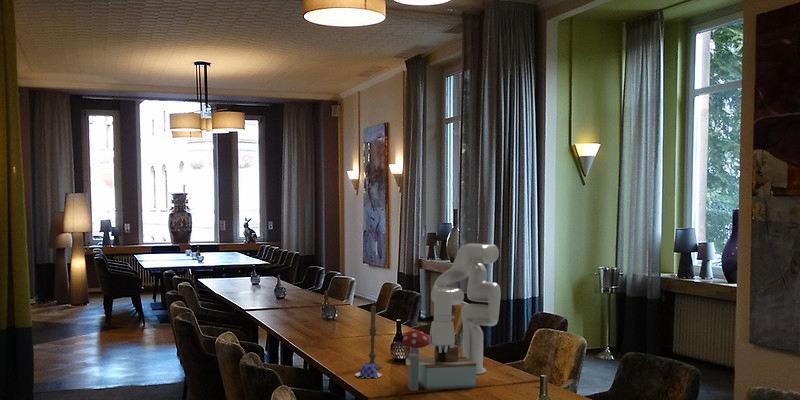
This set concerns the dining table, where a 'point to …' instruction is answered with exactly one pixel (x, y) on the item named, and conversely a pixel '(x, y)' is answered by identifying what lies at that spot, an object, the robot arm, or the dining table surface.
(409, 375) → the toolbox
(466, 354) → the robot arm
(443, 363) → the toolbox lid
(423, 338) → the decorative mushroom
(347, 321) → the dining table surface
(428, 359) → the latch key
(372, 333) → the candlestick holder
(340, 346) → the dining table surface
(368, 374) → the pudding
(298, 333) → the dining table surface
